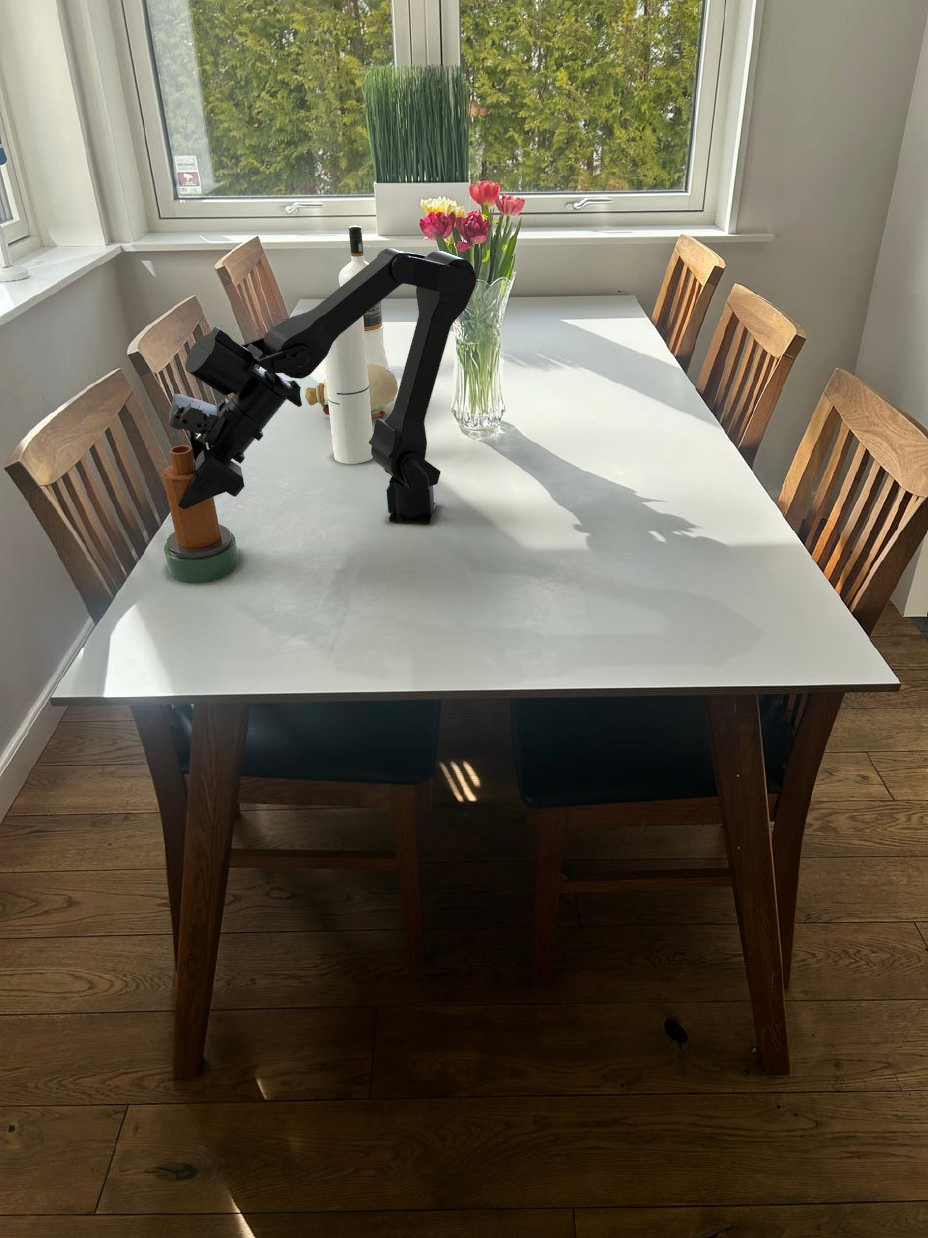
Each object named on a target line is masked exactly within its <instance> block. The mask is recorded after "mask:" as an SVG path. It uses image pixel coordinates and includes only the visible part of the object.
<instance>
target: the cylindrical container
mask: <svg viewBox="0 0 928 1238" xmlns="http://www.w3.org/2000/svg"><path fill="white" fill-rule="evenodd" d="M323 367H324V375H325V379H326V385H327V395H328V404H329V414H330V415H329V422H330V433H331V442H332V450H333V458H334V460H335V461H336V462H338V463H341V464H347V465H356V464H357V465H358V464H363V463H367V462H368V461H371V460H373V459H374V458H373V456H372V454H371V448H372V445H370V444H369V441H370V439H371V438H372V435H373V433H374V431H373V421H372V419H373V418H371V415H372V411H371V407H370V394H369V382H368V370H367V358H366V345H365V333H364V320H363V316H362V317H361V318H360V319H359V320H357V321H356V322H355V323H354V324H352V325H351V326H350V327H349V328H348V329H346V330H345V331H344V332H343V333H342V334H340V335H339V336H338V337H337V339H336V340H335V341H334V342H333V344H332V346H331V348H330V351H329V353H328V355H327V356H326V358H325V359H324V360H323Z"/></svg>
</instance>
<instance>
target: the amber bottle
mask: <svg viewBox="0 0 928 1238" xmlns="http://www.w3.org/2000/svg"><path fill="white" fill-rule="evenodd" d="M168 453H169V456H170V461H171V464H170V465H168V466H166V467H164V469H163V470H162V472H161V473H162V475H161V476H162V479H163V485H164V488H165V493H166V494H165V495H166V498H167V503H168V506H169V507H168V508H169V512H170V516H171V520H172V524H173V529H174V532H175V534H176V539H177V542H178V543H179V544H180V545H181V546H183V547H187V548H200V547H205V546H208V545H211V544H213V543H215V542H216V541H217V540H218V539H219V538H220V528H219V524H220V523H219V519H218V513H217V508H216V503H215V498H214V497H215V496H214V497H211V498H209V499H207V500H205V501H202V502H200V503H198V504H196V505H194V506H191V507H189V508H187V509H182V508H181V507H179V506H178V503H179V501H180V499H181V497H182V495H183V493H184V492H185V490H186V488H187V486H188V485H189V483H190V481H191V479H192V477H193V476H194V469H193V461H192V459H193V458H194V454H193V449H192V447H191V445H189V444H181V445H180V444H179V445H175V446H173V447H170V449H169V450H168Z"/></svg>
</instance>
